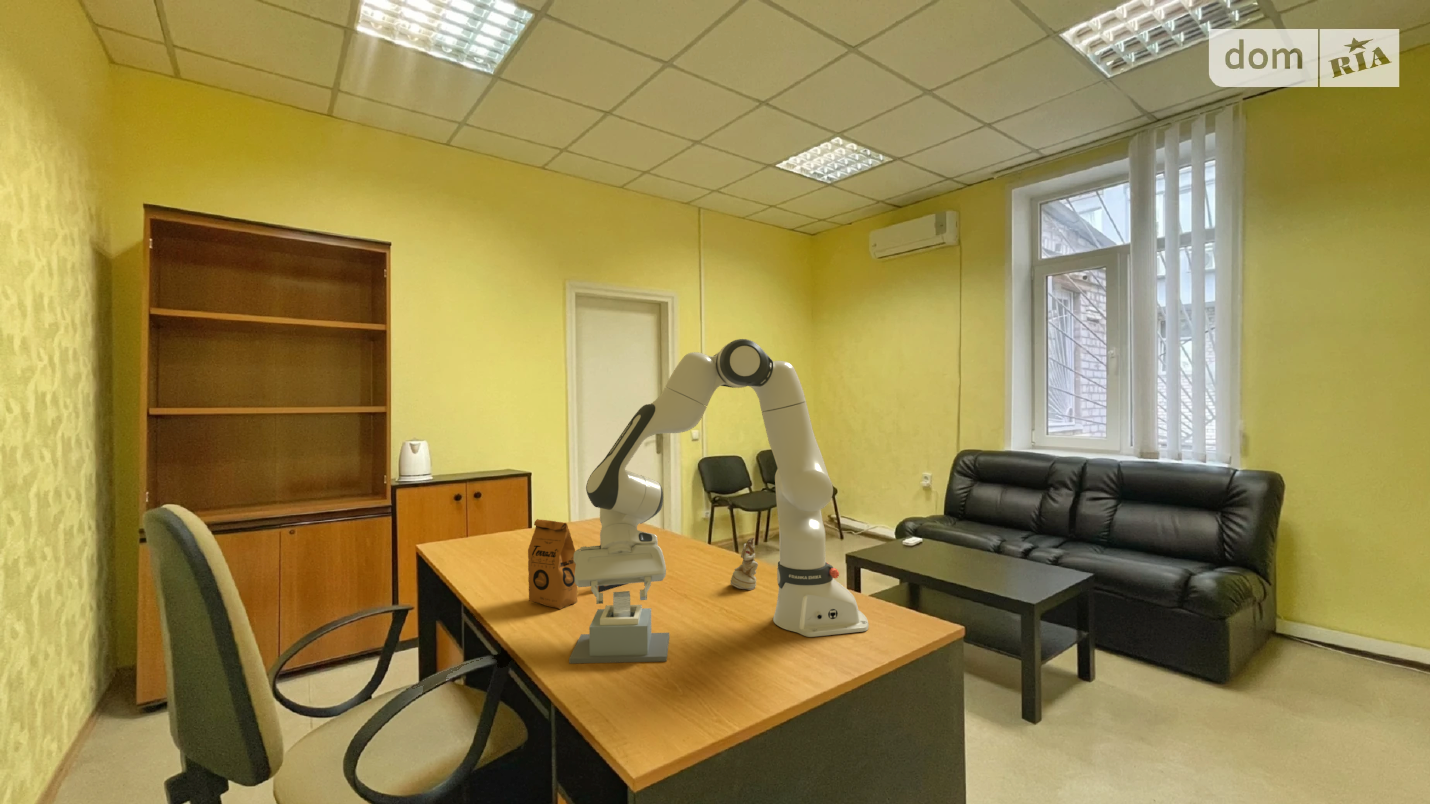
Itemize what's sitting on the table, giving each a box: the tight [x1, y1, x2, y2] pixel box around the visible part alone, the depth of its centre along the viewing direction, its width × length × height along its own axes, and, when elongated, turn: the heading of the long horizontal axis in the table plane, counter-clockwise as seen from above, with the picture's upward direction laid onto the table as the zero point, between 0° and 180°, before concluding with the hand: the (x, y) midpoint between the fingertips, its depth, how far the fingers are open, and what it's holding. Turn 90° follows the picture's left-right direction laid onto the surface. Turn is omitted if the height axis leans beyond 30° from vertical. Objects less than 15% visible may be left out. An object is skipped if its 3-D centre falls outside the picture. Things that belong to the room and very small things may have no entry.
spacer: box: [600, 604, 643, 625], centre depth 123 cm, size 8×8×1 cm
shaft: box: [612, 590, 631, 617], centre depth 123 cm, size 4×4×11 cm
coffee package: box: [527, 518, 578, 610], centre depth 152 cm, size 10×12×22 cm
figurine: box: [730, 537, 759, 591], centre depth 164 cm, size 7×7×15 cm
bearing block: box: [568, 607, 670, 664], centre depth 123 cm, size 20×12×7 cm, turn 92°
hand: (621, 600), depth 123 cm, fingers open, 8 cm apart
